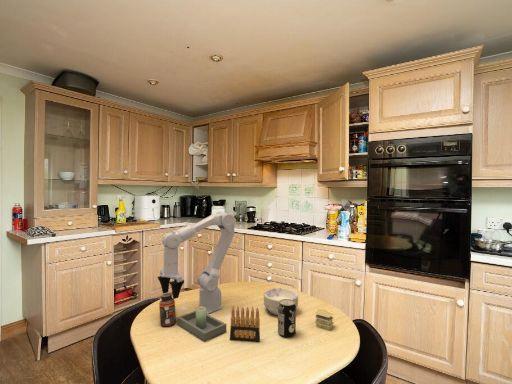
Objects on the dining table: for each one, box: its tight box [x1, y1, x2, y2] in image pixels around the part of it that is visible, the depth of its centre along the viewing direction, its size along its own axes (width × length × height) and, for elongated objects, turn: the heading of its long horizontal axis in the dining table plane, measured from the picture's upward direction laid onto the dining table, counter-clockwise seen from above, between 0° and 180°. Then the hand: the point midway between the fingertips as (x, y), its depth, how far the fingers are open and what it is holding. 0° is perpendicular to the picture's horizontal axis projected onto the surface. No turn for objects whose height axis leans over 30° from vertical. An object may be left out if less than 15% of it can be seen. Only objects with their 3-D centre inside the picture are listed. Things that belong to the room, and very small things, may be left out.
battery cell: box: [195, 306, 206, 329], centre depth 109 cm, size 4×4×8 cm
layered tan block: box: [314, 308, 335, 331], centre depth 112 cm, size 10×9×6 cm
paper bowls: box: [263, 287, 299, 316], centre depth 126 cm, size 15×15×8 cm
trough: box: [176, 310, 227, 343], centre depth 109 cm, size 10×18×3 cm, turn 47°
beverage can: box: [277, 299, 297, 338], centre depth 106 cm, size 7×7×12 cm
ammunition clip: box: [229, 305, 261, 343], centre depth 101 cm, size 11×2×12 cm, turn 84°
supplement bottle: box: [158, 292, 177, 327], centre depth 112 cm, size 6×6×11 cm
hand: (170, 295), depth 117 cm, fingers open, 7 cm apart
